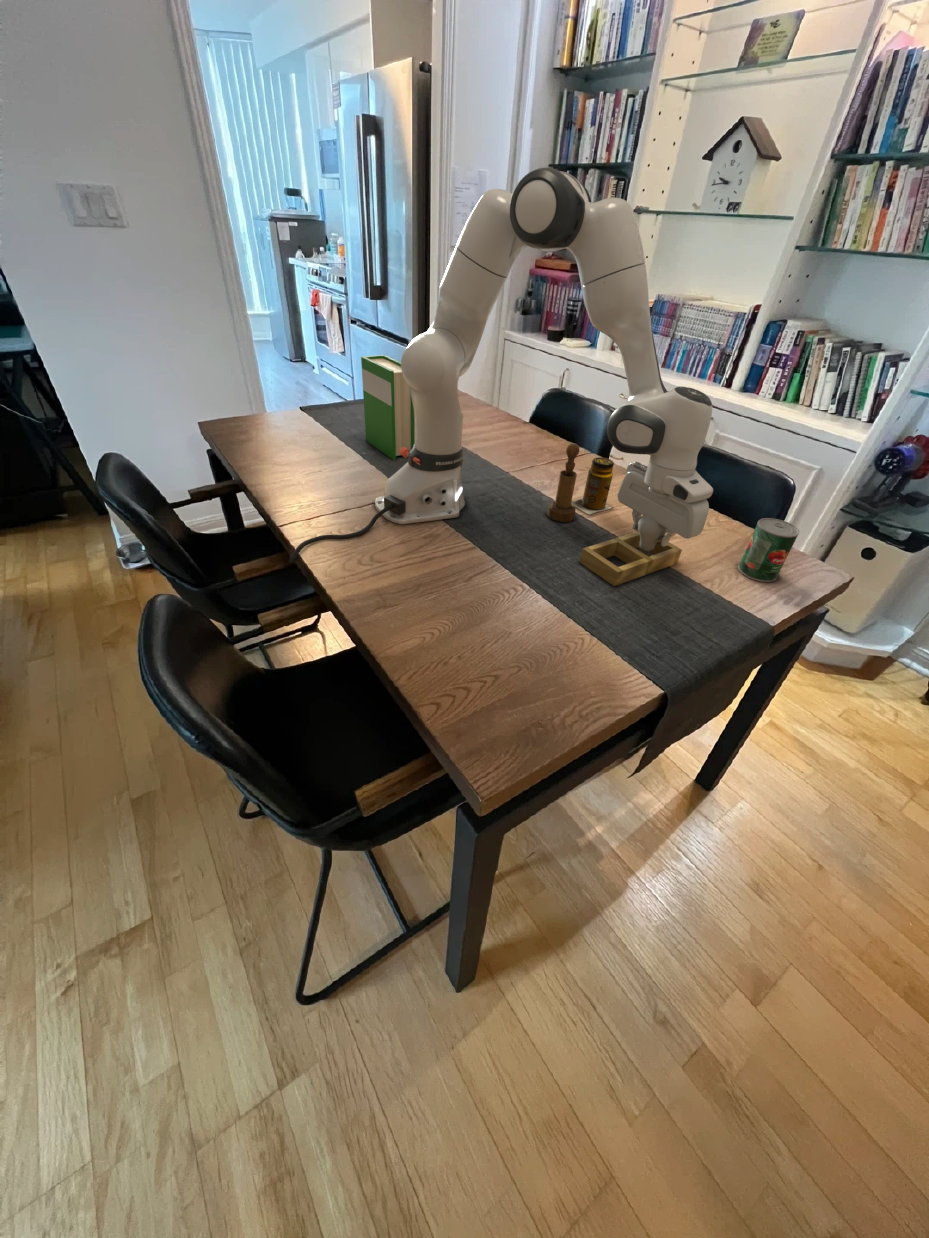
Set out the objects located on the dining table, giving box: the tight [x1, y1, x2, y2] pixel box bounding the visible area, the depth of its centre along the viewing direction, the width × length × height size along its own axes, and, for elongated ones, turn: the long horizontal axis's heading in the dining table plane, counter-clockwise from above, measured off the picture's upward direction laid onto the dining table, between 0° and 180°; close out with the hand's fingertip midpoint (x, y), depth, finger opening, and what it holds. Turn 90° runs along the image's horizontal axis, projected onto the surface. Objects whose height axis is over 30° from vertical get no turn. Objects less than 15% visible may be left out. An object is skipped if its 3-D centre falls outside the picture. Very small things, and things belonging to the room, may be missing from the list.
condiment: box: [571, 456, 615, 515], centre depth 133 cm, size 7×8×12 cm
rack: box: [579, 531, 683, 587], centre depth 114 cm, size 19×10×4 cm, turn 122°
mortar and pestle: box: [546, 442, 580, 523], centre depth 125 cm, size 7×6×18 cm
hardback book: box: [360, 354, 415, 460], centre depth 153 cm, size 18×7×24 cm, turn 34°
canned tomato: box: [737, 517, 800, 583], centre depth 111 cm, size 8×8×11 cm
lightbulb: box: [638, 515, 667, 557], centre depth 113 cm, size 6×6×11 cm
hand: (649, 537), depth 113 cm, fingers closed on lightbulb, 6 cm apart
